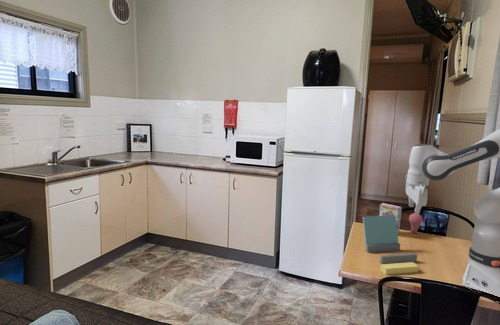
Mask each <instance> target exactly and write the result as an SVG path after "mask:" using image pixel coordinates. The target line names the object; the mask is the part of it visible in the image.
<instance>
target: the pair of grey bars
mask: <svg viewBox="0 0 500 325" xmlns="http://www.w3.org/2000/svg"><path fill="white" fill-rule="evenodd" d="M365 246H366V247H365V251H366V253H379V252H380V253H381V252H396V251H401V250H400V249H401V243H400V242H398V243H386V244H370V245H365ZM417 259H418V254H417V253H415V252H414V253H413V252H411V253H400V254H385V255H380V261H379V263H380V265H382V264H395V263H409V262H413V263H416V262H417V261H418V260H417Z"/></svg>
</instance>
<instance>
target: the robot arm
mask: <svg viewBox="0 0 500 325" xmlns="http://www.w3.org/2000/svg"><path fill="white" fill-rule="evenodd" d="M408 159H409V160H408V165H409V166H408V170H407V174H405V176H404V177H405V178H404V179H405V194H406V196H408V206H409V208H414V213H418V214H420V212H421V209H422V207H426V206H427V203H428V195H429V194H428V193H429V192H428V188H427V187H428V186H429V183H430V180H431V181H442V180H444V179H445V178H447V177H448V176H450V175H452V174H453V173H454V172H456V170H458V169H461V168H463V167H467V166H469V165H470V166H471V165H472V164H475V163H478V162H481V161H487V160H493V159H500V128H499V129H497V130H495V131H493V132H491V133H489V134H488V135H486V136H485V137H483V138H482V139H481V140H479V141H477V142H475V143H474V144H471V146H468V147H466V148H465V147H464V148H463V149H460V150H457V151H455V152H451V153H446V152H444V151H441V150H439V149H438V148H436V147H435V146H433V144H432V143H431V144H430V143H422V144H421V143H420V144H415V145H414V146H412V148H411V150H410V154H409V158H408ZM426 186H427V187H426ZM414 206H415V207H414ZM473 214H474V216H475V217H476V220H475V224H474V227H473V230H472V231H473V232H472V237H471V244H470V245H471V246H470V247H469V250H468V261H467V264H466V268H465V271H464V273H463V274H462V277H461V280H462V283H461V285H463V286H464V287H466V288H468V287H469V288H468V289H470V288H473V289H476V290H480V291H484V292H487V293H490V294H493V295H495V296H498V297H500V187H497V188H495V189H491V190H488V191H486V192H485V193H484V194H482V195H481V196H479V197H478V198H477V199H476V200H475V201H474V204H473Z"/></svg>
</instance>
